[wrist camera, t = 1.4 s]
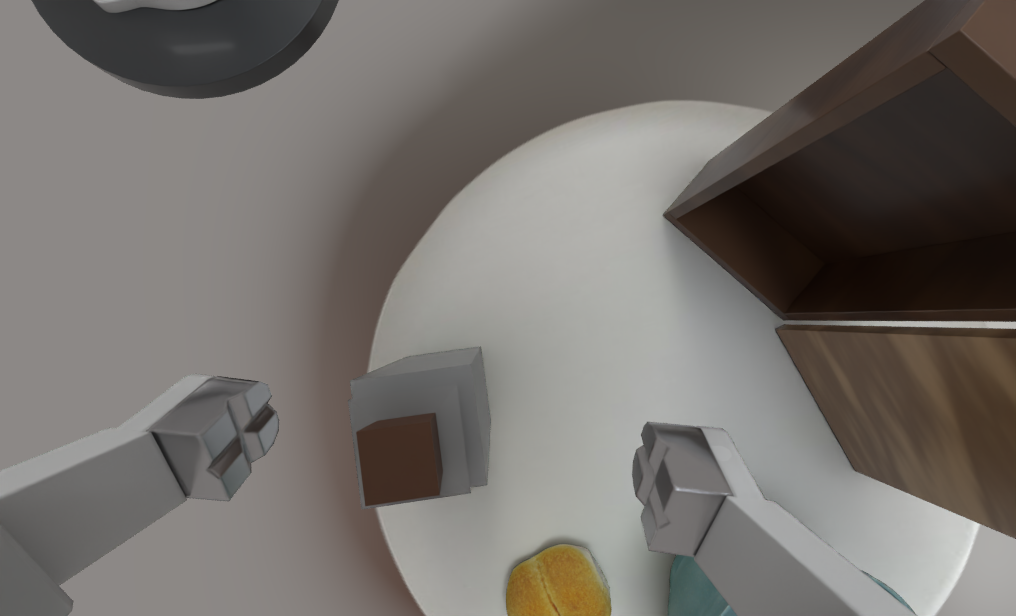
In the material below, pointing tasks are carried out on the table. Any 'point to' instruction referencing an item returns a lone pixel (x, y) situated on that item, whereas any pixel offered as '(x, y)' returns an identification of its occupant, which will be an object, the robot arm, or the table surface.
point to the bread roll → (559, 585)
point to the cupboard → (879, 180)
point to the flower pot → (710, 591)
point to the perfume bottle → (421, 428)
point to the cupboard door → (921, 409)
